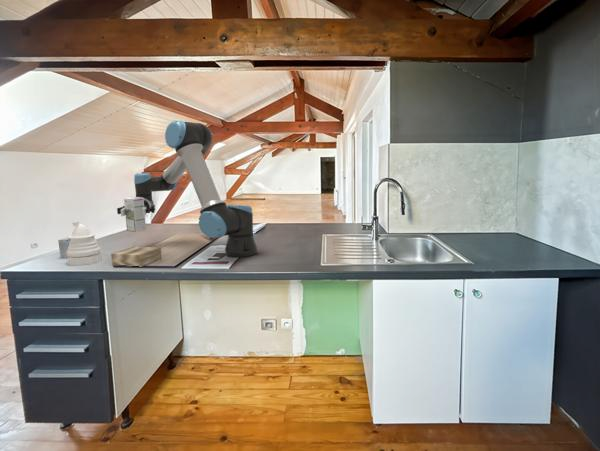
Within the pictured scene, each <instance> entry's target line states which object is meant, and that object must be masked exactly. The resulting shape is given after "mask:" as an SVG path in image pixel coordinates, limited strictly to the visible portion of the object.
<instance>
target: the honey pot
mask: <svg viewBox="0 0 600 451" xmlns="http://www.w3.org/2000/svg"><path fill="white" fill-rule="evenodd" d="M79 223H80V221H72V222H71V224H72V226H74V227H75V229H74V230H73V232H72V235H69V236H67V238H69V239H70V243H69V247H68V250H67V258H66V259H67V264H68V266H85V265H92V264H96V263H99V262H101V261H102V259H103V258H102V252H101V250H102V249H101V247H100V246H99V243H98V240H96V238H95V236H96V234H94V233H92V231H91V230H90V229H89V228H88V227H87V225H84V224H79Z"/></svg>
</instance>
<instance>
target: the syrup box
mask: <svg viewBox="0 0 600 451" xmlns="http://www.w3.org/2000/svg"><path fill="white" fill-rule="evenodd" d="M123 203H124V204H123V206H125V224H126V225H125V227H126V231H127V232H131V233H132V232H133V233H136V232H137V233H138V232H144V231H147V224H146V223H147V222H146V215H143V211H142V209H143V208H144V199H143V197H136V196H128V197H123Z"/></svg>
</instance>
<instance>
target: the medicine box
mask: <svg viewBox="0 0 600 451" xmlns="http://www.w3.org/2000/svg"><path fill="white" fill-rule="evenodd" d="M57 242H58V249H59V256H60V257H59V258H61V259H67V250H68V247H69V243H70V239H69V238H68V237H66V238H62V239H58V241H57Z"/></svg>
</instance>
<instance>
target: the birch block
mask: <svg viewBox="0 0 600 451" xmlns="http://www.w3.org/2000/svg"><path fill="white" fill-rule="evenodd" d="M110 256H111V265H112V266H117V265H132V266H139V268H141V267H144V266H143V265H145V264H147V265H149V264H152V263H154V262H156V260H157V261H159V260H161V259H162V248H161V247H153V246H149V247H148V246H132V247H127V248H126V249H122V250H119V251H115V252H113V253H111V254H110ZM151 262H152V263H151ZM148 263H149V264H148ZM132 266H131V267H132ZM145 266H146V265H145Z"/></svg>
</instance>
